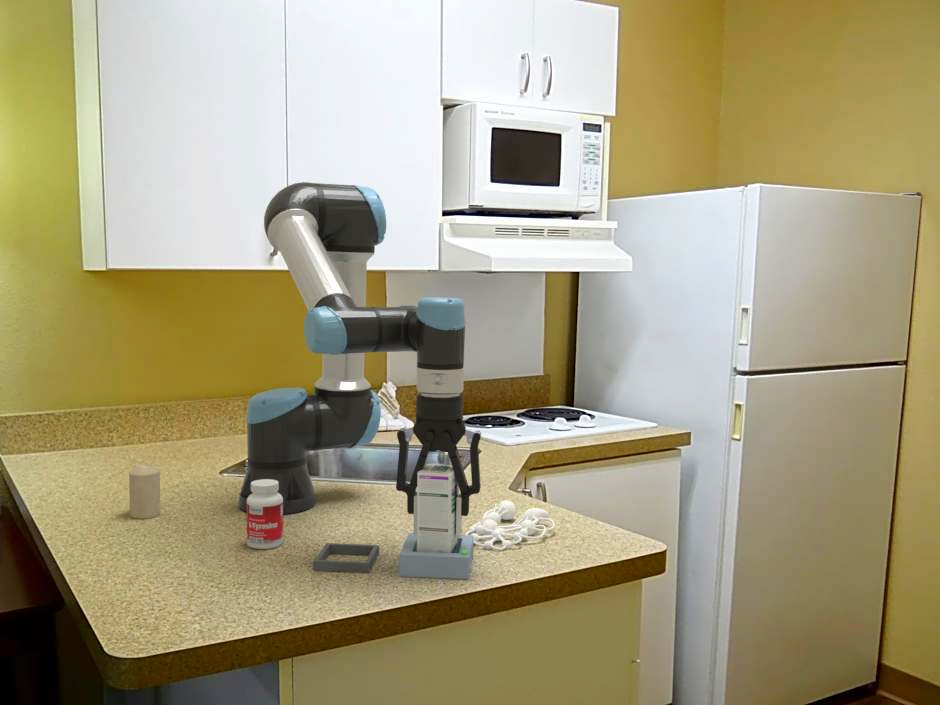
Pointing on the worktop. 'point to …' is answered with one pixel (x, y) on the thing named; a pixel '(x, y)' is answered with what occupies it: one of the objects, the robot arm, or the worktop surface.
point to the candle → (144, 491)
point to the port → (436, 560)
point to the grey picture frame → (346, 566)
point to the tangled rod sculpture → (506, 512)
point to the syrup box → (437, 509)
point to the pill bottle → (264, 515)
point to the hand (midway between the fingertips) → (437, 533)
